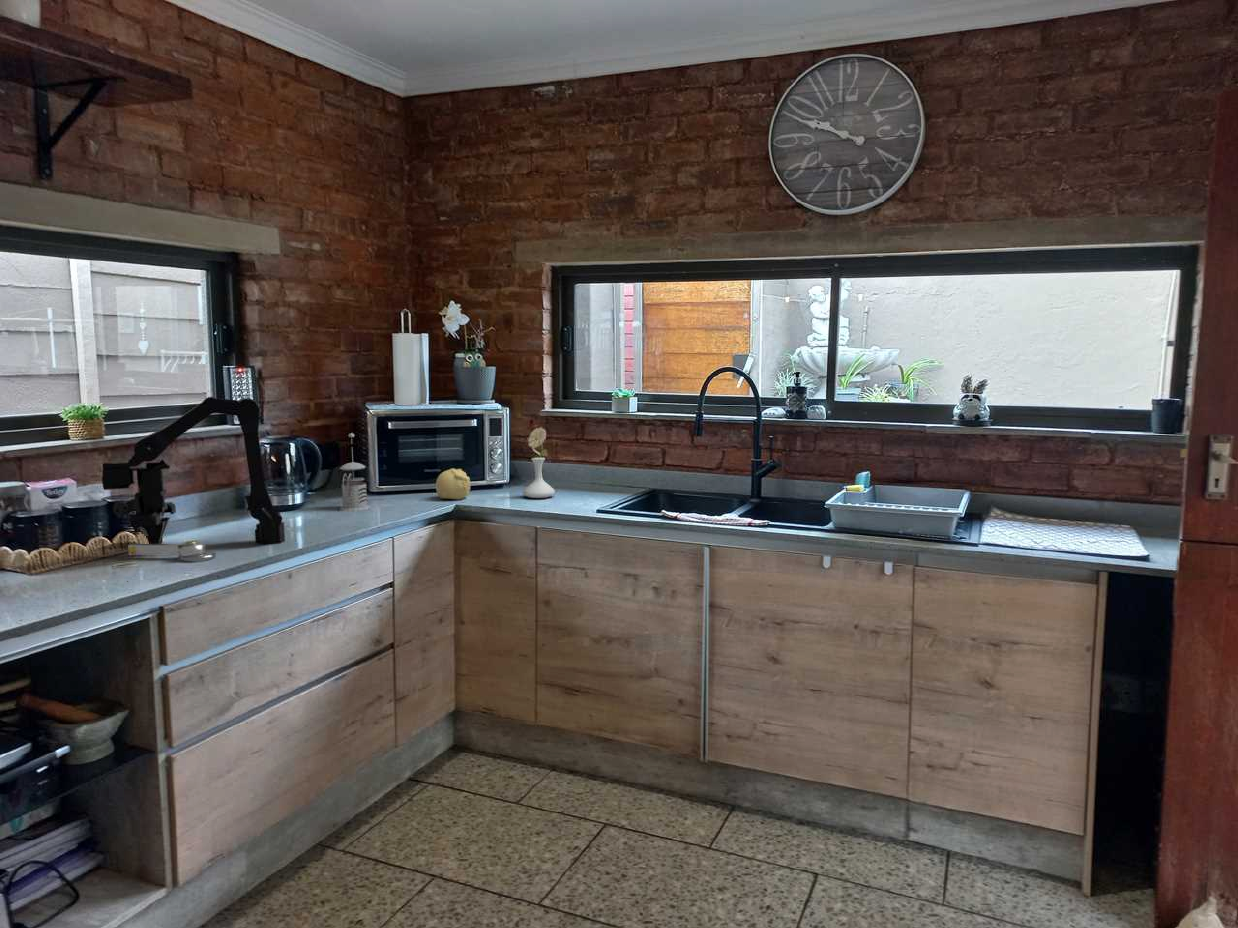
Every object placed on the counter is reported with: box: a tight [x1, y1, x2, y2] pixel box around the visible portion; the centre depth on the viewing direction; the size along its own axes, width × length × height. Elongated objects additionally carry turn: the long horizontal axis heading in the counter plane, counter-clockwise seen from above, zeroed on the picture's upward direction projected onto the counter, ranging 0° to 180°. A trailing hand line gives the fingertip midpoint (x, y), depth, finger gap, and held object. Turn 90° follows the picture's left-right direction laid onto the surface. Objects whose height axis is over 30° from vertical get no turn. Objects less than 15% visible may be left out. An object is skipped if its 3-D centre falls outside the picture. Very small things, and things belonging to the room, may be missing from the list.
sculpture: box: [435, 467, 472, 500], centre depth 303 cm, size 12×12×11 cm
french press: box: [339, 432, 371, 512], centre depth 284 cm, size 10×12×25 cm
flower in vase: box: [522, 426, 556, 499], centre depth 303 cm, size 13×11×25 cm
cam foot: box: [127, 540, 217, 563], centre depth 215 cm, size 21×8×4 cm, turn 88°
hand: (155, 547), depth 221 cm, fingers closed
